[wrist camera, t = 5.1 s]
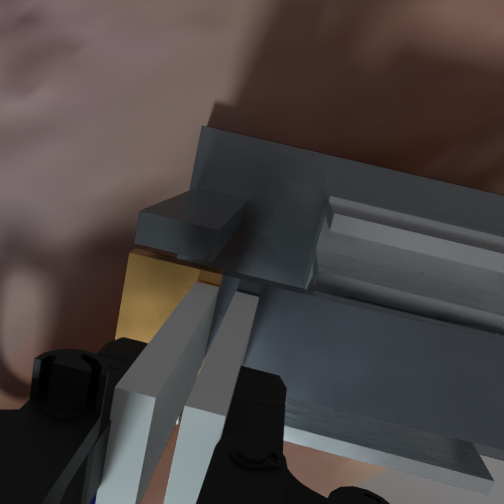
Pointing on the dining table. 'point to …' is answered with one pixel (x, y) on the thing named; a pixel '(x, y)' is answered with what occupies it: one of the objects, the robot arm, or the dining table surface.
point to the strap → (339, 349)
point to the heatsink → (346, 266)
